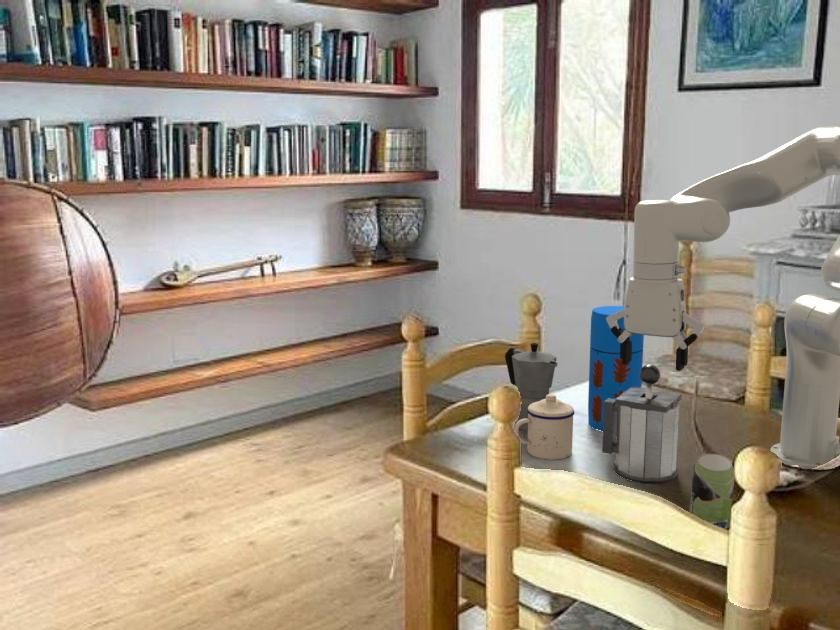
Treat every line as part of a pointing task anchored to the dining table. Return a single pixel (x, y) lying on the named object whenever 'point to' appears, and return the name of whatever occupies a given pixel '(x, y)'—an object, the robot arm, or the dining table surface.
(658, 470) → the press pot
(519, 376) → the coffeepot
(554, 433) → the teacup with lid
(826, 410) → the robot arm
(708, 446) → the dining table surface
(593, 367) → the thermos
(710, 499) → the beverage can
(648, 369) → the plunger
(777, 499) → the dining table surface
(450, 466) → the dining table surface
